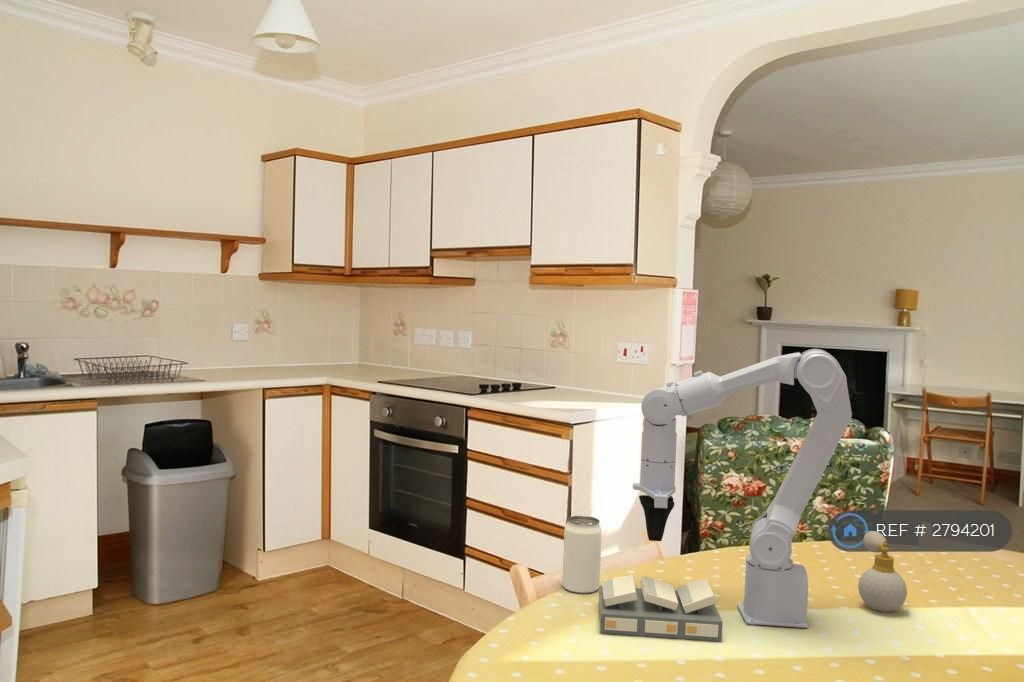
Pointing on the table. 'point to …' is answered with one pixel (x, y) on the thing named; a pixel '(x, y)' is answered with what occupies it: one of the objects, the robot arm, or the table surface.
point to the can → (582, 554)
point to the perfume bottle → (881, 578)
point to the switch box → (659, 620)
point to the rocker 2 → (696, 595)
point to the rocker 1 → (619, 590)
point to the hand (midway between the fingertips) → (654, 539)
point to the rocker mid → (659, 593)
